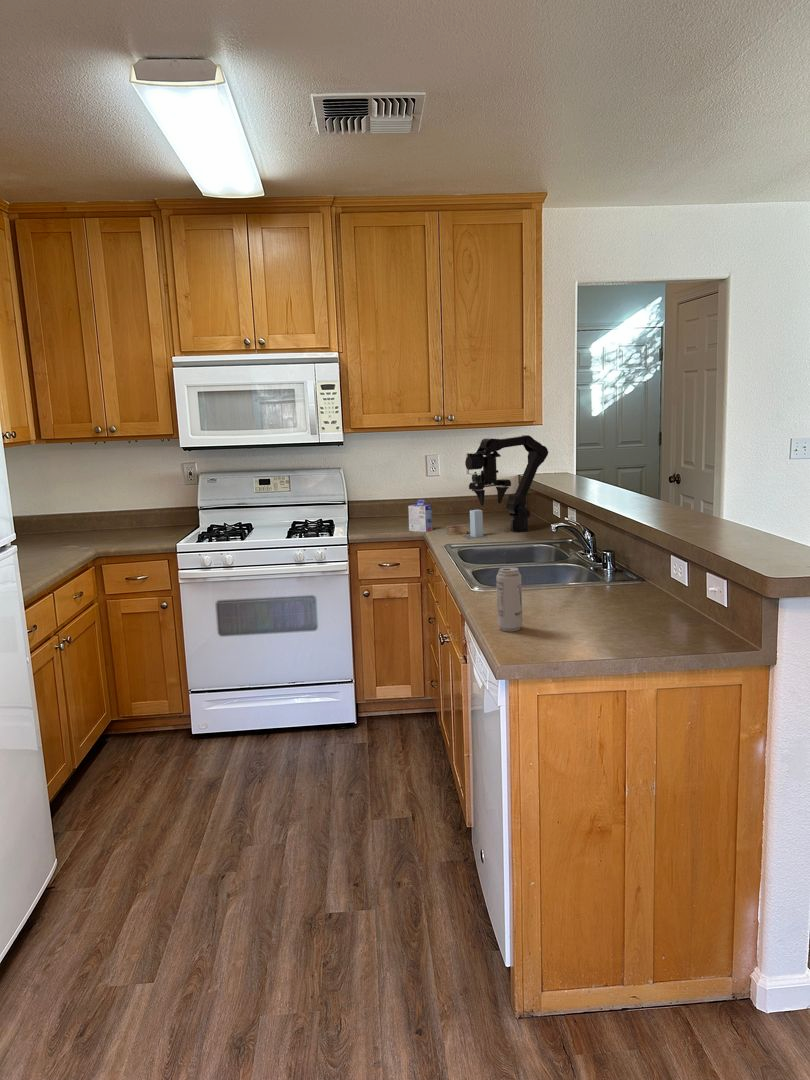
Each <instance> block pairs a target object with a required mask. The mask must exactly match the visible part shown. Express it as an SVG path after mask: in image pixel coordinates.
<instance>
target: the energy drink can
mask: <svg viewBox="0 0 810 1080" xmlns="http://www.w3.org/2000/svg"><path fill="white" fill-rule="evenodd" d="M495 579H496V602H497V603H496V605H497V608H496V609H497V610H496V611H497V626H498V627H499V629H500V631H503V632H517V631H519V630H521V627H523V597H522V596H523V595H522V594H523V590H522V589H523V588H522V582H523V581H522V574H521V573H520V571H519V568H518V567H515V566H507V567H506V566H505V567H500V568H499V569H498V572H497V574H496V578H495Z"/></svg>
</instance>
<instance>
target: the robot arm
mask: <svg viewBox="0 0 810 1080" xmlns="http://www.w3.org/2000/svg"><path fill="white" fill-rule="evenodd" d="M518 446H523V447H524V450H525V451H526V452H527V464H526V467H525V469H524V472H523V474H522V476H521V479H520V481H519V483H518V486H517V489H516V490H515V493H514V494H509V495H508V498H507V501H506V502H505V508H506V512H508V515H509V517H511V520H510V531H511V532H512V531H513V533H514V532H515V533H519V532H521V533H522V532H529V531H530V529H529V526H528V525H529V523H528V522H529V520H528V518H530V517H531V512H530V511H529V509H527V495H528V492H529V491H530V488H531V485H532V483H533V480H534V478H535V476H536V473H537V471H538V468H539V467H540V466H542V464H543V463H544V462H545V460H546V459H547V457H548V455H549V449H548V448H547V447H546V446H545V445H542V444H541V442H539V441H538V440H535V439H534V438H533V437H532V436H531V435H529V434H528V435H527V434H525V435H523V434H522V435H521V436H513V437H506V438H482V439H481V441H480V444H479V447H478V449H477V450H476V452H475V453H467V457H466V458H465V462H464V465H465V468H466V469H467V470H468V471H473V470H481V472H480V474H477V473H474V474H471V481H472V482H469V484H468V489H469V490H471V491H472V492H474V493H475V494H476V496H477V498H478V501H479V504H480V506H481V507H483V506H484V503H485V493H486V492H485V489H484V488H488V487H490V488H491V487H495V489H496V492H497V504H501V503H502V501H503V499H504V496H505V494H506V493H507V490H508V489H510V488H509V487H511V486H512V481H511V479H508V478H507V479H506V478H502V479H501V478H500V479H498V477H497V474H499V470H498V469H497V458H501V454H500V453H499V452H498V451H500V450H502V449H505V448H511V447H518Z"/></svg>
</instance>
